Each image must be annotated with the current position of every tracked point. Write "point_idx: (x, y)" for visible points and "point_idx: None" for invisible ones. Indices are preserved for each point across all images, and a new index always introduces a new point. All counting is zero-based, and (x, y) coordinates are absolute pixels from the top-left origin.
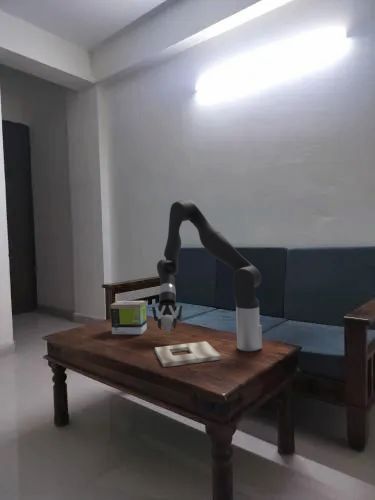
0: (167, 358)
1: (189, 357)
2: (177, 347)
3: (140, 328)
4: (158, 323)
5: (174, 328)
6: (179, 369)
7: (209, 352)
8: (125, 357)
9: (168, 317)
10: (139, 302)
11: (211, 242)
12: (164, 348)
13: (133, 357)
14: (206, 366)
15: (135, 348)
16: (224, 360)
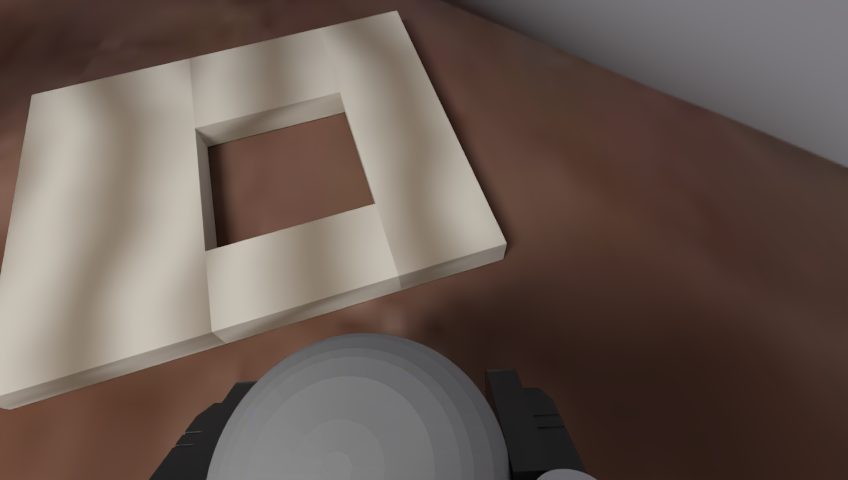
0: (377, 58)
1: (237, 71)
2: (300, 238)
3: None
4: (549, 425)
5: None
6: (315, 14)
7: (79, 138)
8: (696, 147)
9: (306, 361)
10: None
11: None
12: (414, 218)
13: (634, 147)
14: (170, 41)
15: (719, 335)
16: None
